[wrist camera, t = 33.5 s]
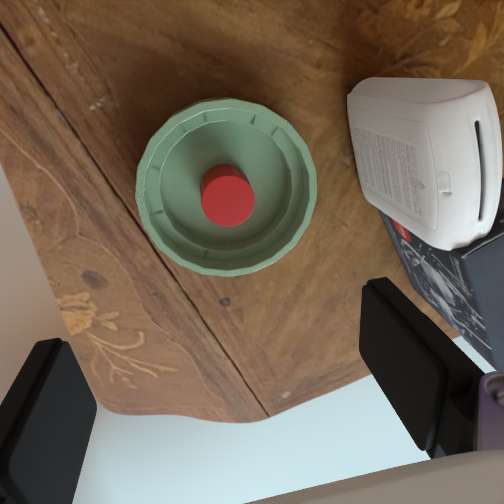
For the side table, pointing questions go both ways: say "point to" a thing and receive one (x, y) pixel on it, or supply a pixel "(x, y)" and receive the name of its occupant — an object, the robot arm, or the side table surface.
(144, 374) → the side table surface
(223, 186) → the cap
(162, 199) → the dish
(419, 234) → the photo printer
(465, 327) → the small box
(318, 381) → the side table surface
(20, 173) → the side table surface
